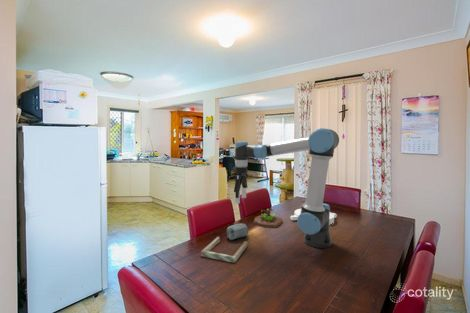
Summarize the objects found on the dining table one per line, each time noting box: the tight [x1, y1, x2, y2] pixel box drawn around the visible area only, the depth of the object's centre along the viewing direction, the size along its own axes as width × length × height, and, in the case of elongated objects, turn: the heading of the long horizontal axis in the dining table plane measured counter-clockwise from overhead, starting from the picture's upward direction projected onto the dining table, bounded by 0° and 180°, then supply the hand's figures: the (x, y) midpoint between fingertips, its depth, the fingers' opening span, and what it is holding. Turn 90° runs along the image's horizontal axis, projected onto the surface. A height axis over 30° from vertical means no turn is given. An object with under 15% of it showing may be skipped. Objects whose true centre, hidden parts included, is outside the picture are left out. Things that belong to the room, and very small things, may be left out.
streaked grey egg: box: [226, 223, 249, 241], centre depth 146 cm, size 14×10×10 cm
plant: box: [253, 207, 284, 229], centre depth 173 cm, size 20×20×11 cm
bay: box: [200, 236, 248, 264], centre depth 129 cm, size 18×20×2 cm
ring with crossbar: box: [289, 208, 338, 226], centre depth 181 cm, size 28×28×5 cm
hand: (240, 200), depth 153 cm, fingers open, 13 cm apart
